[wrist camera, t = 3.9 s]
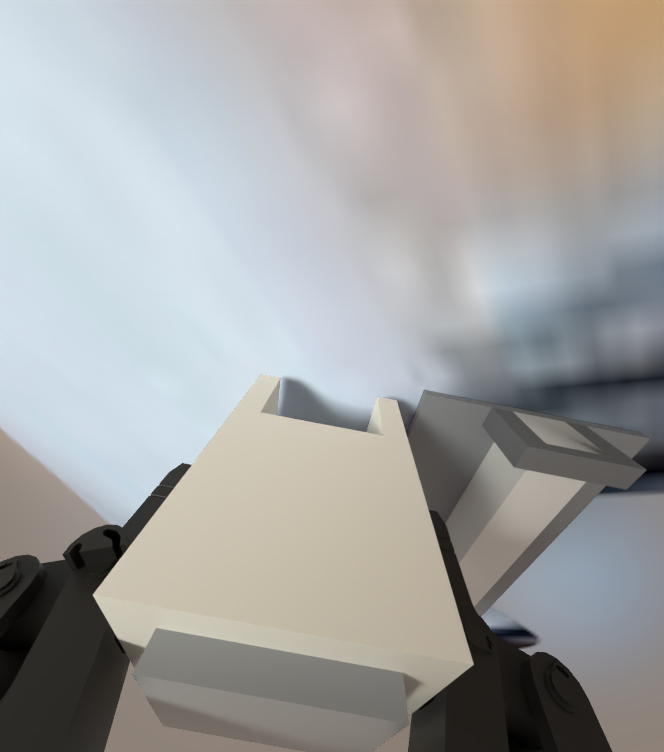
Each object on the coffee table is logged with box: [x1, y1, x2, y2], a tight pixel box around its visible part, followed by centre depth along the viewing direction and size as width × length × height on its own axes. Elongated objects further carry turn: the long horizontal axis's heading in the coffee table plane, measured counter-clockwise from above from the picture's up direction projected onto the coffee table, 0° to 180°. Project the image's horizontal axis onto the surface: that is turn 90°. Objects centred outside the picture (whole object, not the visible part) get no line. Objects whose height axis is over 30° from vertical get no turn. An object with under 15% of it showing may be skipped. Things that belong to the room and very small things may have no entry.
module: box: [93, 374, 474, 752], centre depth 10 cm, size 6×7×10 cm
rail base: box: [407, 390, 651, 616], centre depth 17 cm, size 24×12×4 cm, turn 170°
